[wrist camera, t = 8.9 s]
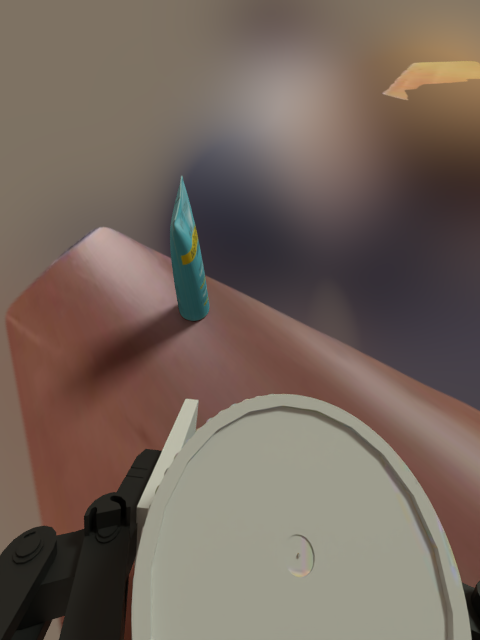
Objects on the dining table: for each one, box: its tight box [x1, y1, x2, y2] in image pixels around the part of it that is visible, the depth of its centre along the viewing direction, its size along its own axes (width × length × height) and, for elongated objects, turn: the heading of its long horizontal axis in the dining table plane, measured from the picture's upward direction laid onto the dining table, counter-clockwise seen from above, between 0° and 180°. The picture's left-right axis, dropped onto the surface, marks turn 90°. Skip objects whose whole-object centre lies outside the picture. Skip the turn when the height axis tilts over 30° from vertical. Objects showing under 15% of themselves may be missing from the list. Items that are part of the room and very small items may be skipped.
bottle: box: [131, 394, 472, 640], centre depth 11 cm, size 7×7×15 cm
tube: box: [170, 176, 209, 321], centre depth 31 cm, size 7×5×19 cm, turn 7°
